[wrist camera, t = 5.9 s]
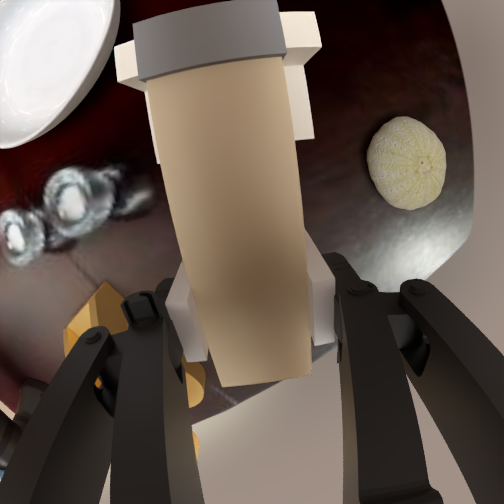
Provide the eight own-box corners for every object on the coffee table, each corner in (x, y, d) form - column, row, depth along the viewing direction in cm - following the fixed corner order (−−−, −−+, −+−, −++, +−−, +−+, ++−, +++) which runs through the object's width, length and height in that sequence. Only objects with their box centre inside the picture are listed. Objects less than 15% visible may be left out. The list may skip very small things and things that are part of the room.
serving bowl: (18, 4, 15) (-12, -6, 9) (158, -34, 17) (141, -65, 10) (-8, 147, 23) (-44, 156, 17) (123, 138, 25) (91, 142, 18)
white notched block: (177, 155, 26) (119, 180, 13) (164, 77, 23) (98, 36, 10) (296, 136, 26) (350, 142, 13) (283, 57, 22) (323, -4, 9)
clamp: (219, 376, 38) (214, 478, 23) (176, 398, 40) (162, 487, 25) (106, 280, 31) (40, 375, 16) (73, 317, 33) (18, 401, 18)
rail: (224, 311, 17) (219, 394, 11) (176, 65, 12) (132, 23, 6) (293, 301, 17) (315, 381, 11) (260, 50, 12) (275, -3, 6)
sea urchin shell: (380, 226, 27) (400, 178, 19) (350, 167, 30) (357, 113, 23) (447, 206, 26) (476, 161, 19) (415, 153, 29) (431, 104, 22)
